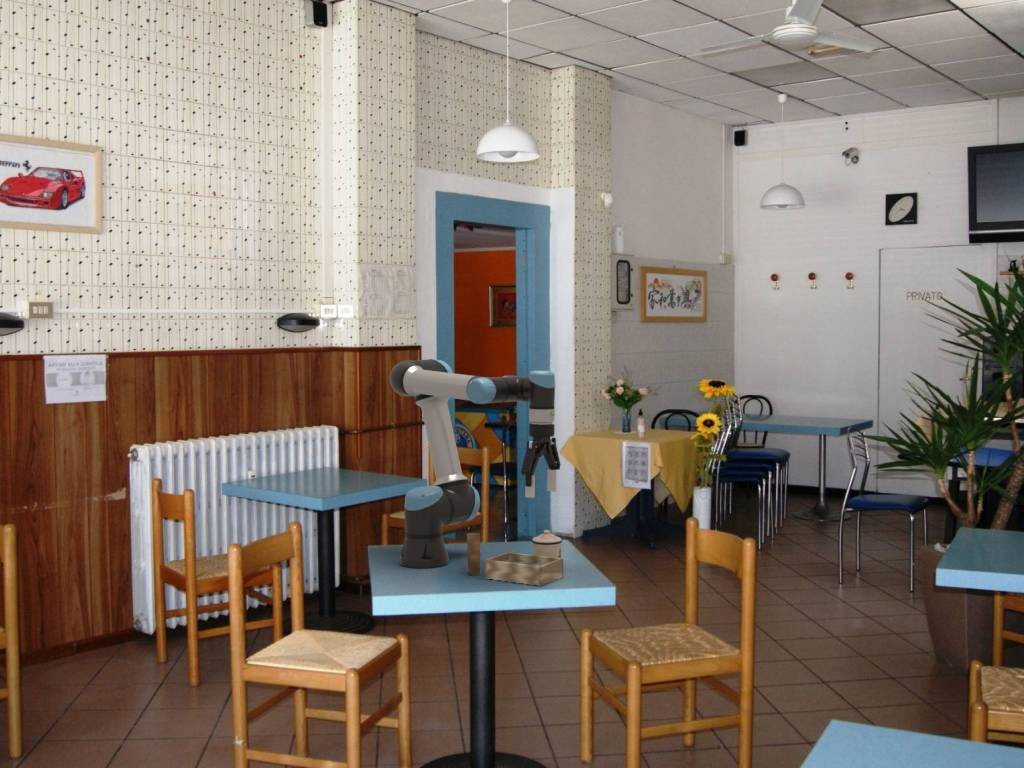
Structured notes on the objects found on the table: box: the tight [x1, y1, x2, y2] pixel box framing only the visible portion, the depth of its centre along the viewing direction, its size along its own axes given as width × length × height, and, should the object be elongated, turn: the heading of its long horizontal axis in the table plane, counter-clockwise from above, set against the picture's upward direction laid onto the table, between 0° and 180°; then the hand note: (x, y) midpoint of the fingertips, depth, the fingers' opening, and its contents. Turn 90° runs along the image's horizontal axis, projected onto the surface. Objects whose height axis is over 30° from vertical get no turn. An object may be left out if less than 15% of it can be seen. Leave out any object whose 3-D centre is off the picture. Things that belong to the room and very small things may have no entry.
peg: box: [466, 532, 481, 576], centre depth 311 cm, size 4×4×12 cm
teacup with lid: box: [531, 529, 563, 558], centre depth 319 cm, size 12×9×12 cm
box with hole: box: [483, 551, 564, 587], centre depth 306 cm, size 19×13×6 cm
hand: (540, 494), depth 312 cm, fingers open, 13 cm apart
